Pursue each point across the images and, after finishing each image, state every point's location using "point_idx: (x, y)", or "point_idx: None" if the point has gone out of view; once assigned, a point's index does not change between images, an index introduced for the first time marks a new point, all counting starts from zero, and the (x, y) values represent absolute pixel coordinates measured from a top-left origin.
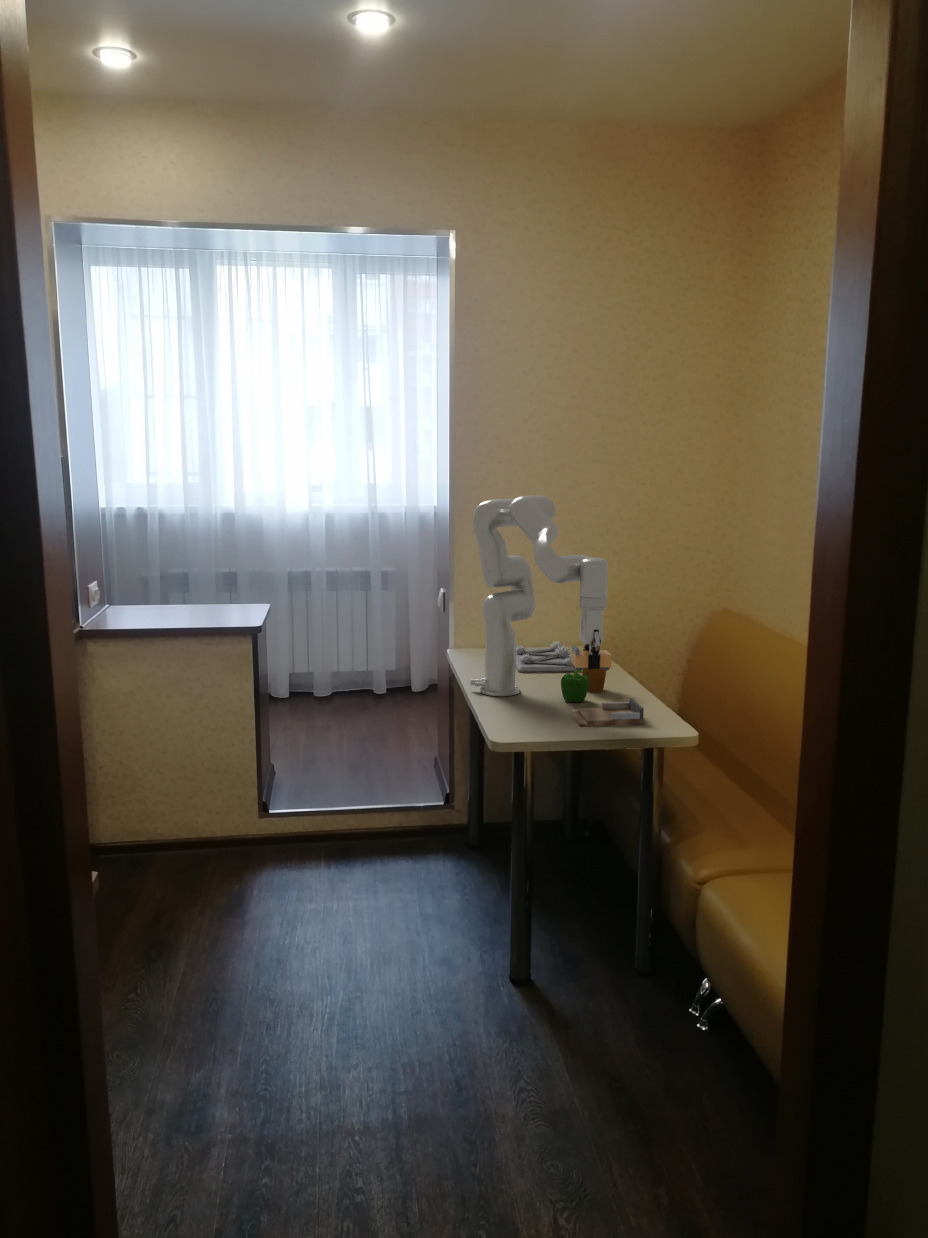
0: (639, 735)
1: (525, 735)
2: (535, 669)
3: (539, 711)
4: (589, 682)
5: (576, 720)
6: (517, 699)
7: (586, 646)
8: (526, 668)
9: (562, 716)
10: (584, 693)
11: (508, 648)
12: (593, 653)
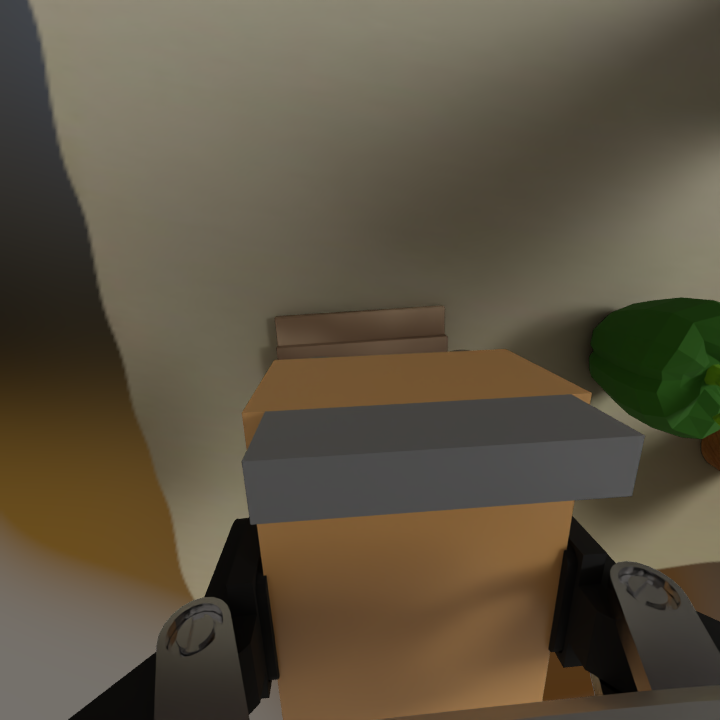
0: (184, 495)
1: (122, 39)
2: None
3: (492, 173)
4: None
5: (341, 312)
6: (696, 89)
7: (618, 624)
8: None
9: (412, 266)
10: (606, 392)
11: None
12: (144, 669)
